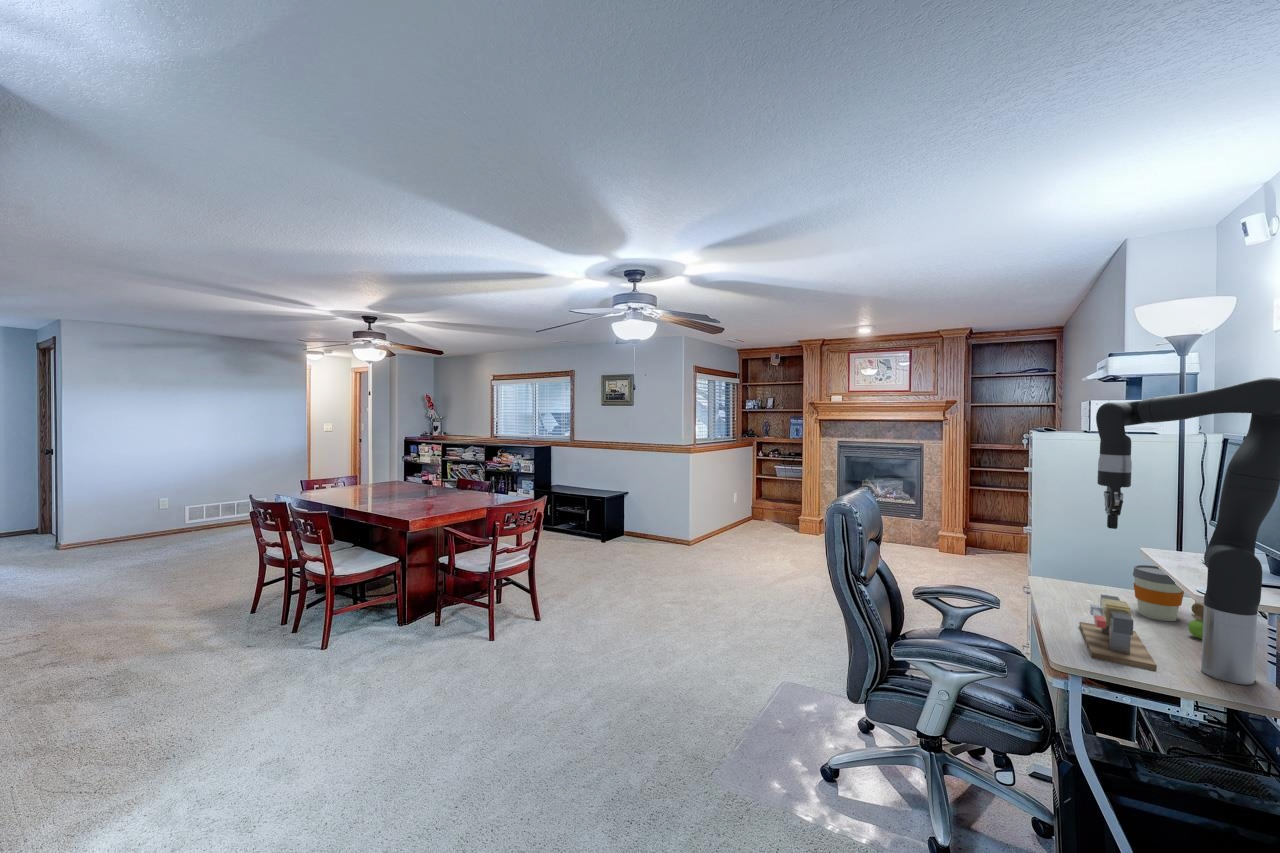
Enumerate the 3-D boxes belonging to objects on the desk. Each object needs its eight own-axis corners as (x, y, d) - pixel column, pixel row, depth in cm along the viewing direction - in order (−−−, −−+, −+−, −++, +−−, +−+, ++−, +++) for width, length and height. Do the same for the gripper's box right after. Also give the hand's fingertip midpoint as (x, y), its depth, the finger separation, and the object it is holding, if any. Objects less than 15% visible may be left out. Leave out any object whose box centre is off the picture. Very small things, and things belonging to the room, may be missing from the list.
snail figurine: (1210, 644, 158) (1212, 603, 158) (1183, 635, 164) (1185, 596, 164) (1223, 642, 160) (1225, 601, 159) (1195, 633, 166) (1197, 594, 166)
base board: (1079, 626, 171) (1079, 621, 171) (1135, 636, 164) (1135, 631, 164) (1091, 658, 149) (1091, 652, 149) (1156, 670, 142) (1156, 665, 142)
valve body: (1096, 626, 167) (1098, 590, 167) (1119, 630, 164) (1120, 593, 164) (1109, 653, 149) (1110, 613, 148) (1135, 658, 146) (1136, 617, 145)
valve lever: (1090, 604, 160) (1097, 619, 149) (1101, 606, 159) (1109, 621, 148) (1089, 612, 160) (1096, 628, 149) (1101, 614, 159) (1109, 630, 148)
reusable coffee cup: (1187, 626, 172) (1189, 578, 171) (1133, 616, 179) (1135, 571, 179) (1180, 614, 182) (1182, 569, 181) (1129, 606, 189) (1131, 562, 189)
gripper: (1136, 473, 156) (1133, 534, 156) (1126, 468, 167) (1124, 525, 167) (1101, 471, 160) (1099, 530, 160) (1094, 467, 171) (1092, 522, 171)
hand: (1112, 528), depth 164 cm, fingers closed
